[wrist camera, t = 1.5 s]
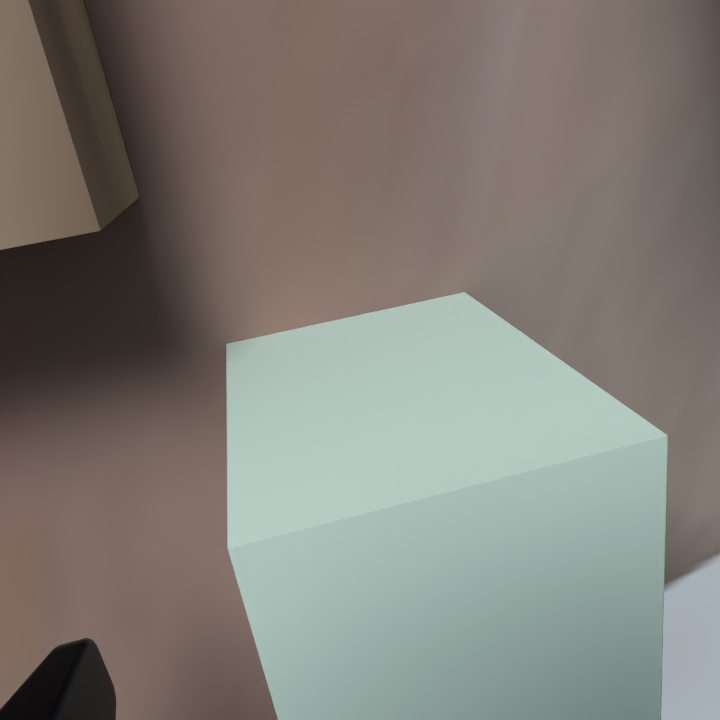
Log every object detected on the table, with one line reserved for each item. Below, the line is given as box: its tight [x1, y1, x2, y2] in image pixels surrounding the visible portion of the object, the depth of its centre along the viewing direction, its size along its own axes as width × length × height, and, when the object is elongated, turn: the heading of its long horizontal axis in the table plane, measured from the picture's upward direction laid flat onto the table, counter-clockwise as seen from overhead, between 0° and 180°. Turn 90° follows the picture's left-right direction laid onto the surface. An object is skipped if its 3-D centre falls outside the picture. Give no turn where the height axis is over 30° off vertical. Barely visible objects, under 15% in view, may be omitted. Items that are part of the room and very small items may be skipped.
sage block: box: [226, 292, 668, 720], centre depth 10 cm, size 4×4×6 cm
